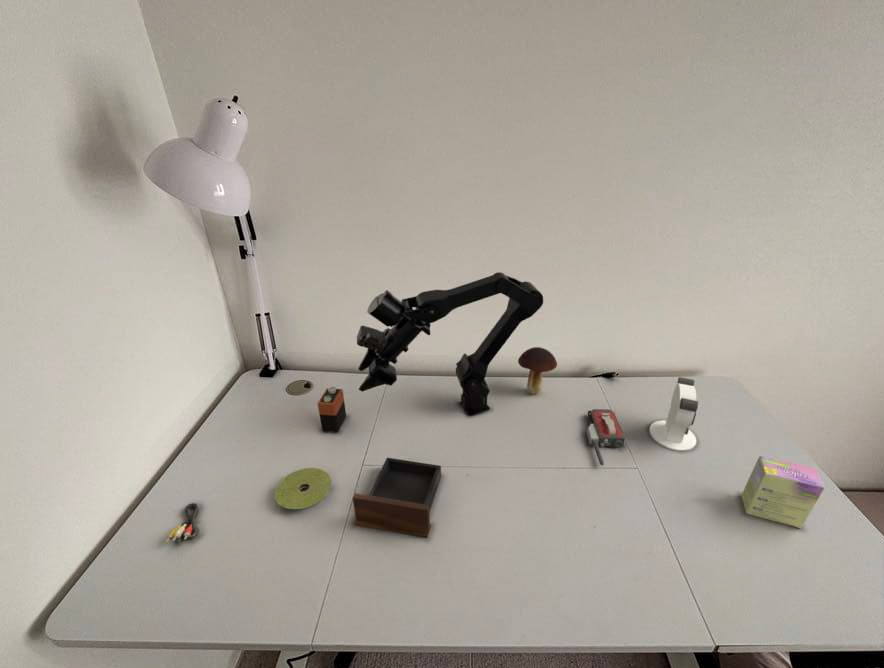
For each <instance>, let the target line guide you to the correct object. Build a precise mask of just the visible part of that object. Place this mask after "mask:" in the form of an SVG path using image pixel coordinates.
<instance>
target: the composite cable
mask: <svg viewBox="0 0 884 668" xmlns="http://www.w3.org/2000/svg"><path fill="white" fill-rule="evenodd" d="M191 509H194V510H193V514H192V515H191V513H190V510H191ZM198 512H199V505H198V504H197V503H196V502H192V503H189V504H187V505H186V507H185V508H184V513H185V516H186V518H187V520H186V521H185V522H182V523H181V524H179V525H178V526H177V527H174V528H173V530H172V531H170V533H169V534H168V535H167V538H166V540H165V544H167V543H169V541H170V540H171V541H172V542H175V540H177V543H178V544H180V543H181V542H182V540H187V539H189V540H193V539H196V538H197V537H198V536H199V534H200V529H199V526H198V525H197V524H196V517H197V515H198ZM193 526H194V528H195V532H194V533H193V534H192V532H193V531H194V530H193Z"/></svg>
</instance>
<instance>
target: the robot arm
mask: <svg viewBox="0 0 884 668" xmlns="http://www.w3.org/2000/svg"><path fill="white" fill-rule="evenodd" d="M498 294H502V295H504V296H506V297H507V298H508V302H507V305H506V306H507V307H506V309H505V311H504V312H503V314H502V315H501V316H500V318H499V319H498V321H497V322H496V323H495V324H494V326H493V327H492V328H491V329H490V331H489V332H488V334H487V336H486V337H485V338H484V339H483V340H482V342H481V344H480V345H479V346H478V348H476V350H475V352H473V353H471V354H469V355H468V354H467V353H463V355H462V356H461V358H460V359H459V361H458V362H456V363H455V365H456V367H455V375H456V378H457V380H458V383H459V386H460V388H461V389H462V390H461V391H462V392H461V394H460V401H459V405H460V407H461V408H462V410H463V411H464V412H465V413H466V414H467V415H468V416H469V417H472V416H475V415H479V414H482V413H484V412H488V411H490V410H491V407H490V406H489V405H488V396H489V394H490V391H491V389H490V387H489V386H488V383H487V382H486V379H485V378H486V376H487V372H488V368H489V365H490V363H491V362H492V361H493V359H494V358H495V357H496V356H497V354H499V352H500V350H501V349H502V347H504V345H505V344H506V343H507V342H508V340H509V338H510V337H511V336H512V334H513V333H514V332H515V331H516V329H517V328H518V327H519V325H520V324H521V323H522V322H524V321H525V320H528V319H530V318H532V317H533V316H534V315H535V314H536V313H537V312H538V311H539V310H540V309H541V308H542V306H543V305H544V302H545V301H544V296H543V293H542V292H541V291H540V290H539V289H538V288H537V287H536V286H535V285H534V284H533V283H532V282H530V281H521V280H519V279H517V278H515V277H511V276H508V275H506V274H505V273H503V272H500V271H499V272H495V273H493V274H492V275H489V276H486V277H483V278H480V279H477V280H474V281H470V282H468V283H465V284H462V285H459V286H456V287H453V288H450V289H433V290H432V289H431V290H426V291H422V292H420V293H418V294H417V295H416V296H411V297H406V298H403V299H401V300H400V299H399V298H397V297H396V296H395V295H394V294H392V292H391V291H389V290H388V289H386V290H385V291H384V292H383V293H380V294H378V295H377V296H375V297H374V299H372V301H371V302H370V303H369V305H368V308H367V310H366V311H367V312H366V313H367V314H369V315H370V316H371V317H373V318H374V319H376V320H377V321H378V322H380V323H381V324H382V325H384V326H386V327H388V328H385V329H384V330H383V331H382V330H379V329H377V328H374V327H370V326H366V325H360V327H359V328H358V333H357V335H356V345H357V346H359V347H362V348H366V349H367V350H366V352H365V354H364V356H363V357H362V360H361V362H360V364H359V366H358V371H360V372H363V371H365V370H366V369H368V374H367V376H366V377H365V379H364V380H363V382H362V383H361V384H360V386H359V388H358V390H359V391H360V392H365V391H369V390H371V389H374V388H376V387H380V386H384V385H386V386H391V387H392V386H393V385H394V384H395V383H396V382H397V381H398V378H397V370H396V367H395V366H393V365H396V364H397V362H398V357H399V356H400V355H402V353H407V352H408V351H409V346H410V344H411V343H412V342H413V341H414V340H415V339H416V338H417V337H418V336H419V335H420V334H421V333H422V332H423V333H424V334H426V335H427V336H430V335H431V324H434V323H436V322H437V321H440V320H442V319H443V318H445V317H447V316H448V315H449V314H450V313H451V312H453V311H454V310H456V309H457V308H460V307H461V308H462V307H464V306H466V305H469V304H472V303H476V302H478V301H481V300H484V299H487V298H490V297H493V296H496V295H498ZM389 327H390V328H389ZM390 363H392V364H393V365H392V364H390Z"/></svg>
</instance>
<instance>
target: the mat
mask: <svg viewBox="0 0 884 668" xmlns="http://www.w3.org/2000/svg"><path fill="white" fill-rule="evenodd" d="M331 486H332V479H331V476H330V474H329V472H327V471H325V470H324V469H321V468H317V467H306V468H300V469H297V470H295V471H292V472H291V473H289V474H287V475H286V476H285V477H284V478H282V479H281V480H280V481H279V483H278V484H277V486H276V487H275V490H274V499H275V501H276V502H277V504H278V505H279V506H281V507H282V508H285V509H288V510H290V509H291V510H301V509H305V508H308V507H309V508H310V507H311V506H313V505H315V504H317V503H318V502H320V501H321V500H323V499H324V498H325V497H326V496H327V494H328V493H329V491H330V490H331Z"/></svg>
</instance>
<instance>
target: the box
mask: <svg viewBox="0 0 884 668" xmlns="http://www.w3.org/2000/svg"><path fill="white" fill-rule="evenodd" d="M822 480H823V479H822V478H821V476H820V474H819V472H818V470H817V468H815V467H811V466H806V465H801V464H799V463H798V464H797V463H793V462H789V461H786V460H785V461H784V460H780V459H777V458H772V457H768V456H764V455H759V456H758V458H757V461H756V463H755V465H754V467H753V469H752V471H751V473H750V475H749V477H748V480H747V482H746V484H745V486H744V489H743V490H742V492H741V498H742V503H743V507H744V510H745V514H746V515H750V516H754V517H758V518H761V519H766V520H769V521H773V522H776V523H780V524H784V525H788V526H791V527H795V528H798V529H802V528H803V527H804V524H805V523H806V521H807V519H808V517H809V516H810V514H811V512H812V511H813V509H814V507H815V506H816V504H817V502H818V500H819V498H820V497H821V495H822V493H823V491H824V490H825V488H826V487H825V485H824V483H823V481H822Z"/></svg>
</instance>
